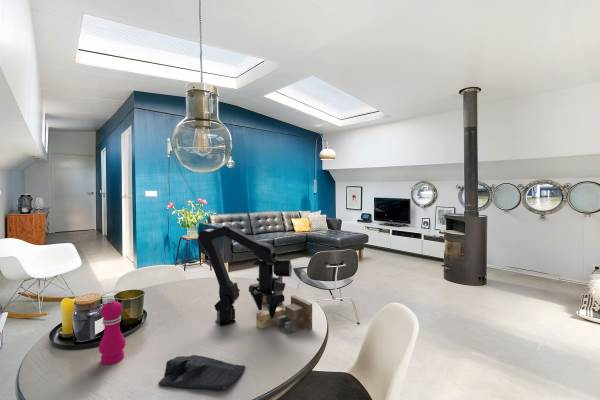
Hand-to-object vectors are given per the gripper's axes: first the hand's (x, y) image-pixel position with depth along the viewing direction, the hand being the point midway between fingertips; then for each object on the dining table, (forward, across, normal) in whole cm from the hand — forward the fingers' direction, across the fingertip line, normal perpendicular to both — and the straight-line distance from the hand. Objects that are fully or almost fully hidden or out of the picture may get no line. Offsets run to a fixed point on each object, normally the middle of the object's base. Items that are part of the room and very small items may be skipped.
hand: (265, 313), depth 120 cm
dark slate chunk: (+5, -18, +32) cm, 37 cm away
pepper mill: (+5, +8, +52) cm, 53 cm away
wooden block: (+5, +18, -14) cm, 24 cm away
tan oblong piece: (+4, 0, -4) cm, 6 cm away
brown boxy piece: (+4, -9, -8) cm, 13 cm away
